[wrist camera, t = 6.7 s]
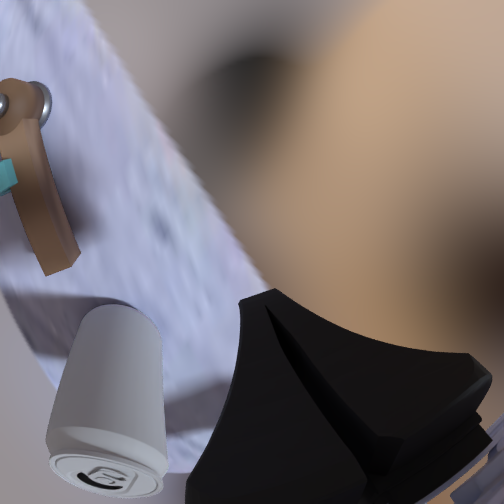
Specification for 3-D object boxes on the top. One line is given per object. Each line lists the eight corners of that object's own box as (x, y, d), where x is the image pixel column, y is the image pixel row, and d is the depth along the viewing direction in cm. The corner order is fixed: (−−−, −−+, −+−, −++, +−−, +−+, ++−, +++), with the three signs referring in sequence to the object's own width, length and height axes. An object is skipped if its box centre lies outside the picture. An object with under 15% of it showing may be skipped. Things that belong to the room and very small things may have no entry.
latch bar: (2, 99, 10) (-20, 96, 8) (40, 74, 11) (21, 67, 8) (51, 263, 15) (36, 281, 13) (90, 248, 16) (78, 266, 13)
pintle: (56, 121, 13) (23, 119, 9) (14, 146, 12) (-24, 153, 8) (47, 72, 11) (14, 58, 7) (4, 99, 11) (-33, 95, 7)
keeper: (45, 172, 14) (10, 185, 10) (15, 189, 13) (-21, 206, 10) (39, 152, 13) (3, 160, 9) (9, 170, 13) (-28, 182, 9)
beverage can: (69, 335, 18) (30, 470, 8) (108, 280, 18) (62, 435, 7) (134, 375, 21) (132, 507, 10) (179, 330, 20) (198, 482, 10)
